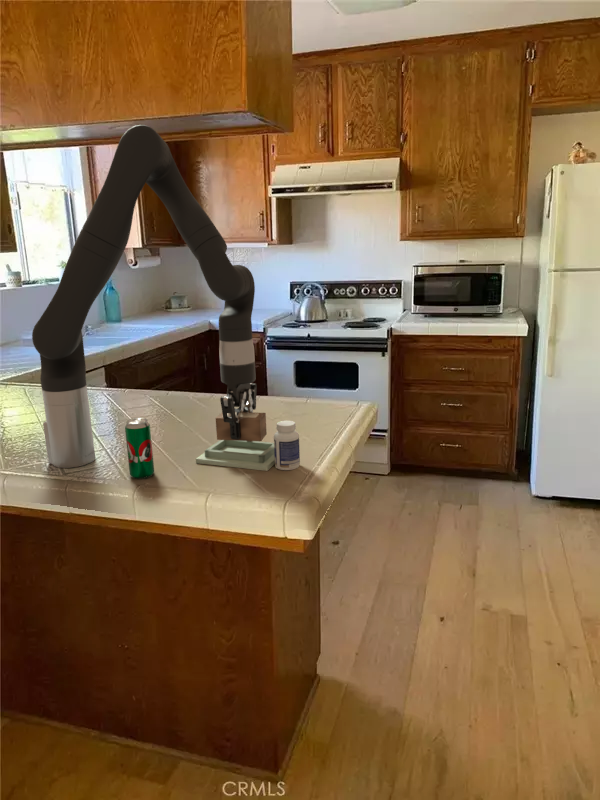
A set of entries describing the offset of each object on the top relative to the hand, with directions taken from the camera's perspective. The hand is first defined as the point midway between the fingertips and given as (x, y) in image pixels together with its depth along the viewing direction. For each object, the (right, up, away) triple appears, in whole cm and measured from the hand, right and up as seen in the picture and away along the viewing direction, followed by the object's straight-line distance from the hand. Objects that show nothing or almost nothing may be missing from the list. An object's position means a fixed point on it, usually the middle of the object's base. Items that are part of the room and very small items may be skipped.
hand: (241, 434), depth 137 cm
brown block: (0, -1, 0) cm, 1 cm away
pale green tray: (0, -5, +1) cm, 5 cm away
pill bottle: (+10, -7, -5) cm, 13 cm away
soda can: (-20, -8, -7) cm, 23 cm away
